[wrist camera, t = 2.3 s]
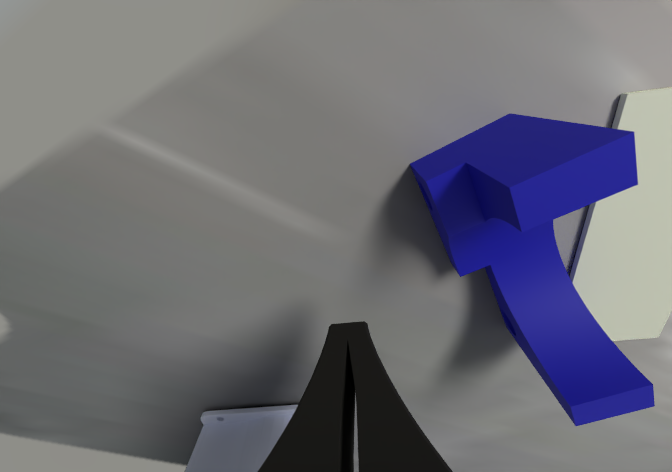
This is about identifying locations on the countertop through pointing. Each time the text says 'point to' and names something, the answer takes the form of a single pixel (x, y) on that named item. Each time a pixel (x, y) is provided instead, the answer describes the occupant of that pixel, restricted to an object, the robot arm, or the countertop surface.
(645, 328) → the mat
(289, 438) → the robot arm
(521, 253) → the cable clip
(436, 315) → the countertop surface
